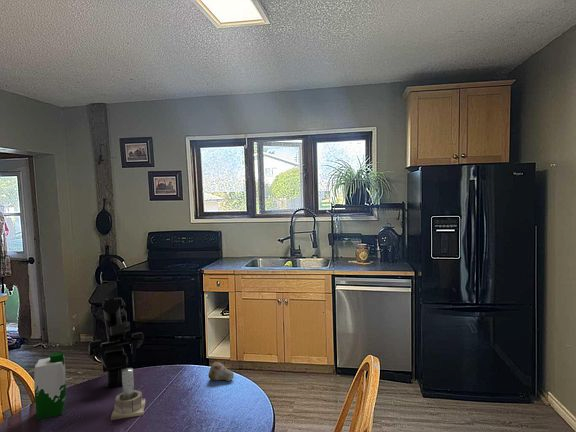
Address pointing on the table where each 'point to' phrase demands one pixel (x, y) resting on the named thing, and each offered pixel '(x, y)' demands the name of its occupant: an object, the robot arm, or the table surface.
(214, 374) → the flower patterned bottle
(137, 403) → the cup bracket
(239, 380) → the table surface
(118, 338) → the robot arm
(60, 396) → the milk carton
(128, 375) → the grey glossy cylinder
